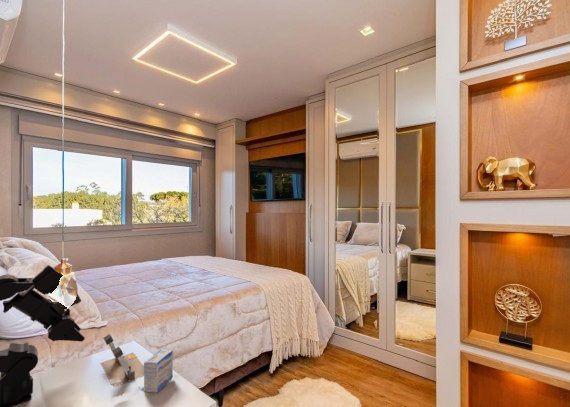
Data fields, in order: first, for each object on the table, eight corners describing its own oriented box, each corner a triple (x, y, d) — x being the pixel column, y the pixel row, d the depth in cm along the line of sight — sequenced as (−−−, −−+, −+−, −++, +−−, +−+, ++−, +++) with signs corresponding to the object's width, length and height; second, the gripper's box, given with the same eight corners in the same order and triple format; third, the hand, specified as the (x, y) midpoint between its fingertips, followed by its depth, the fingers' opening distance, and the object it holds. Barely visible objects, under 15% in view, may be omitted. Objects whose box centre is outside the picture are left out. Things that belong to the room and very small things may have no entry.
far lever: (116, 363, 96) (105, 340, 94) (114, 360, 98) (103, 338, 96) (123, 359, 97) (111, 336, 95) (120, 355, 99) (109, 334, 97)
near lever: (127, 378, 87) (114, 354, 85) (124, 374, 89) (111, 350, 87) (133, 374, 89) (121, 349, 86) (130, 370, 91) (118, 346, 89)
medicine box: (157, 393, 83) (157, 363, 83) (143, 391, 84) (143, 361, 84) (173, 378, 90) (173, 350, 91) (160, 376, 91) (160, 348, 92)
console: (112, 392, 83) (112, 380, 83) (99, 367, 96) (99, 357, 97) (150, 377, 90) (150, 366, 91) (133, 356, 104) (133, 346, 104)
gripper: (65, 290, 81) (109, 320, 88) (59, 278, 94) (98, 305, 101) (26, 325, 75) (76, 355, 82) (26, 307, 89) (69, 334, 96)
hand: (81, 334), depth 91 cm, fingers open, 9 cm apart
